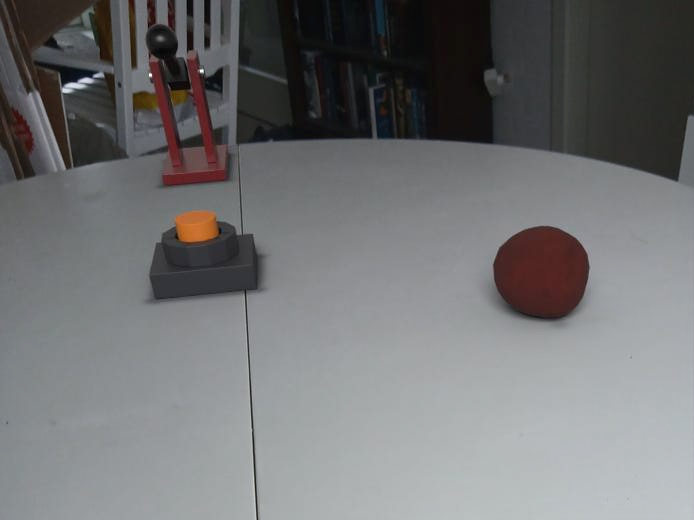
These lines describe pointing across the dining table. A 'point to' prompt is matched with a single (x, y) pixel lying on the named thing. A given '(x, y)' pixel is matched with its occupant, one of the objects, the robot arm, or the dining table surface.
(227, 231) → the control block
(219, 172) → the red lever stand
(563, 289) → the potato
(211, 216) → the button
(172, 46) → the black ball lever
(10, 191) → the dining table surface
